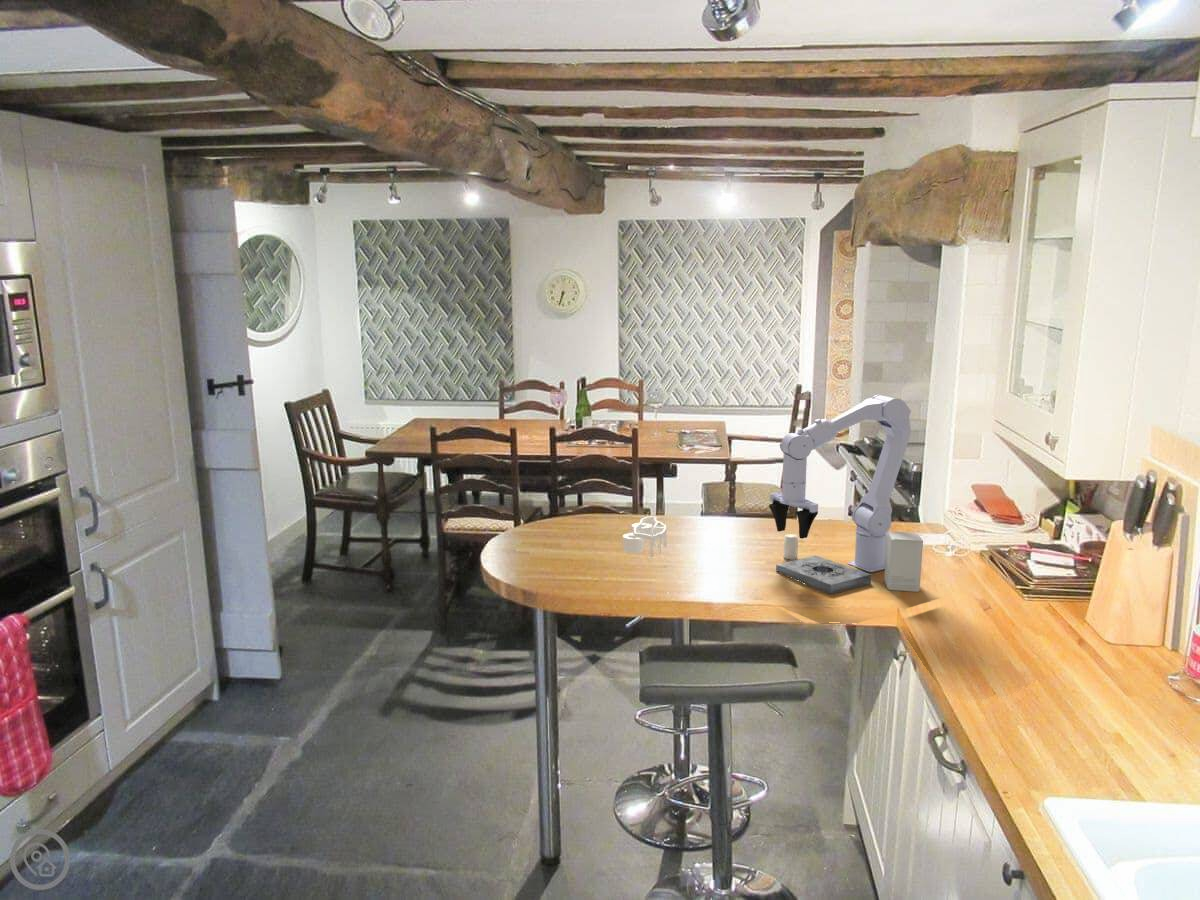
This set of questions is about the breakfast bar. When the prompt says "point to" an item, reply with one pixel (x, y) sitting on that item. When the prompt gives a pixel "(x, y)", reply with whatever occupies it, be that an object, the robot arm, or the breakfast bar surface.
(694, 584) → the breakfast bar surface
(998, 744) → the breakfast bar surface
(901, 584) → the supplement box
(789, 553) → the peg
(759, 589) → the breakfast bar surface
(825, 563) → the socket plate
